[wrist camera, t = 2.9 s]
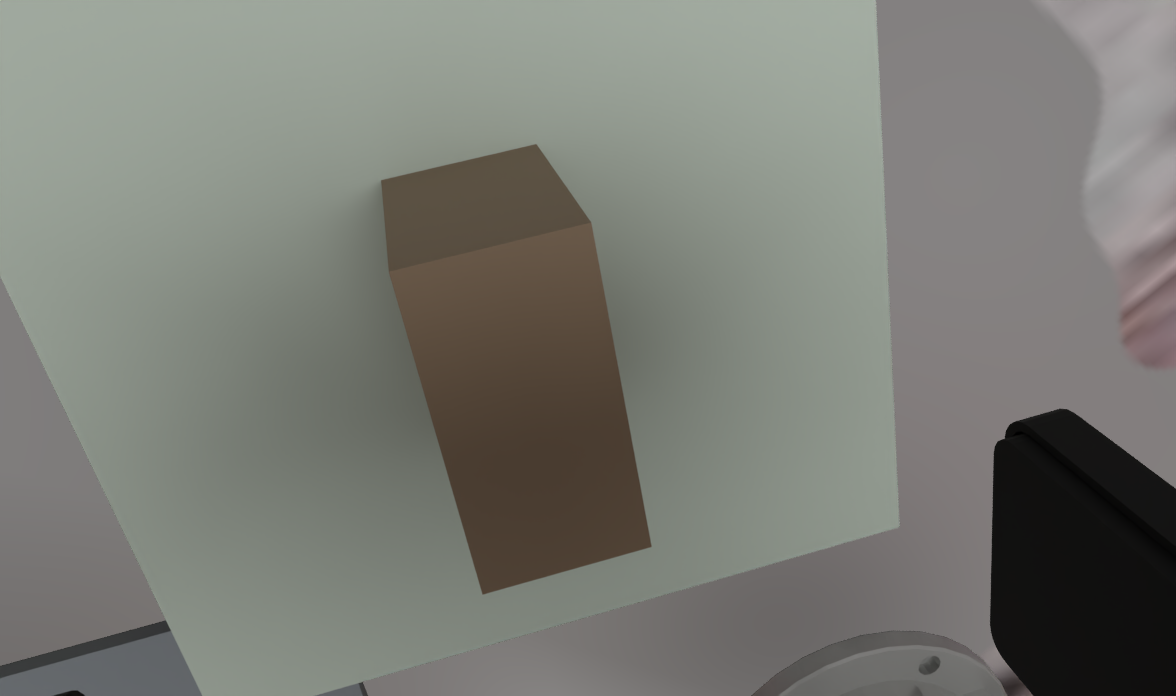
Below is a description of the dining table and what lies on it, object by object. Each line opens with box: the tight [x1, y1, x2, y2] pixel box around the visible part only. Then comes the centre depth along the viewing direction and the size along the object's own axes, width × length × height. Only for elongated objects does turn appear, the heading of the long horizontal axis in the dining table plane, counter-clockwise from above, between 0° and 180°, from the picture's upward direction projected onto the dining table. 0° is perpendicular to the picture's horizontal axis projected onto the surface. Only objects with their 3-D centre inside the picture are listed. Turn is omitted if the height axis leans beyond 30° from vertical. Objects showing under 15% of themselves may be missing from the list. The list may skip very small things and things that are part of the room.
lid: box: [0, 0, 900, 696], centre depth 18 cm, size 17×17×6 cm
